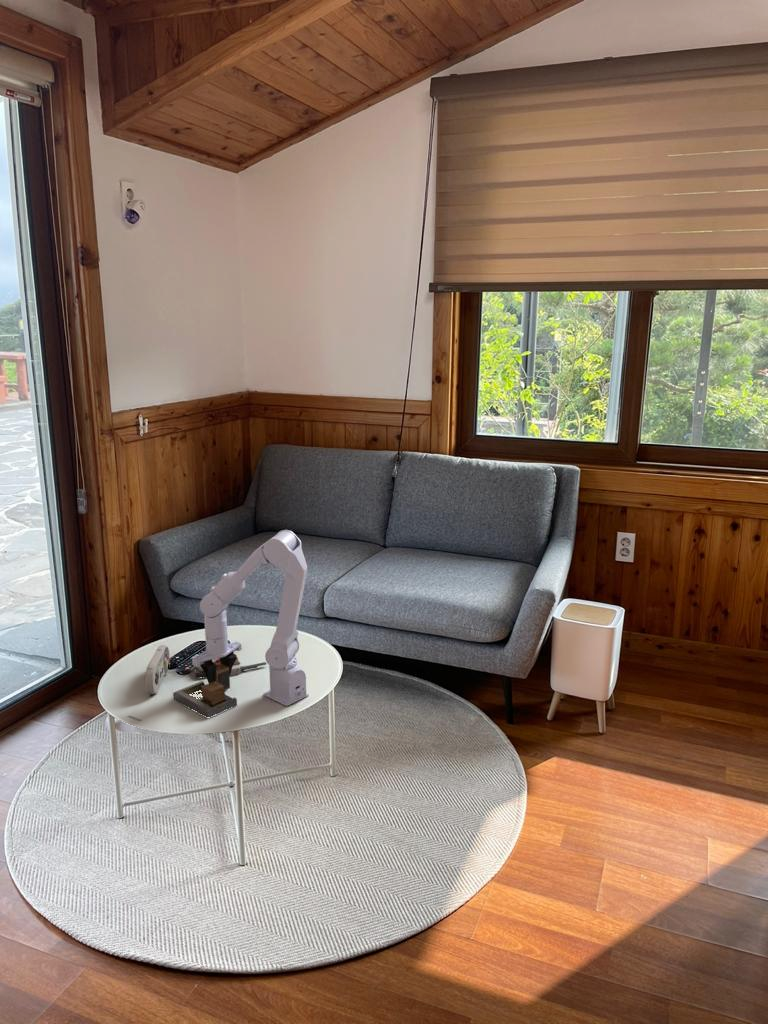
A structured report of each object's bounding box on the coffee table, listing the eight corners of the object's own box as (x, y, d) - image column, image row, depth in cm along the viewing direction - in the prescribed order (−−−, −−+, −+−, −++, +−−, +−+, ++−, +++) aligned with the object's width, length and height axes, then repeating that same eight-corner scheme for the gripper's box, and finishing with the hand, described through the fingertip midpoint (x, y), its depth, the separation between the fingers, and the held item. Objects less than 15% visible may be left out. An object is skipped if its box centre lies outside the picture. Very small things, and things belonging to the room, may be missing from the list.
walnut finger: (231, 688, 208) (230, 667, 206) (219, 693, 205) (218, 672, 203) (220, 683, 210) (219, 662, 209) (208, 688, 208) (207, 667, 206)
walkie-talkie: (198, 684, 211) (267, 669, 220) (197, 669, 210) (267, 655, 219) (190, 671, 218) (257, 657, 227) (189, 657, 217) (257, 643, 226)
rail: (237, 705, 198) (236, 684, 197) (208, 718, 192) (206, 696, 190) (202, 687, 208) (201, 667, 206) (173, 699, 201) (172, 678, 200)
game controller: (155, 699, 202) (152, 670, 199) (146, 699, 201) (143, 670, 199) (171, 667, 220) (169, 640, 218) (163, 667, 220) (161, 640, 218)
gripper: (229, 623, 212) (231, 669, 215) (184, 639, 201) (187, 687, 205) (245, 630, 207) (247, 676, 211) (200, 646, 197) (203, 695, 200)
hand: (219, 682), depth 207 cm, fingers closed on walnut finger, 4 cm apart
